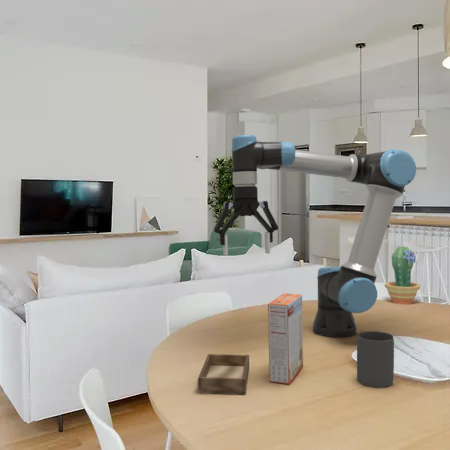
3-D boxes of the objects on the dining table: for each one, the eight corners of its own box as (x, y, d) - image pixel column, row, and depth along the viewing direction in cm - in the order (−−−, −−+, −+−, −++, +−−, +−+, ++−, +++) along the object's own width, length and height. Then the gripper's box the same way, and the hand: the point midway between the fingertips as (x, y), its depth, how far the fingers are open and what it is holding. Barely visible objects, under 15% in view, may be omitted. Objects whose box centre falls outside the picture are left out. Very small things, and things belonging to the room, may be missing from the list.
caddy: (249, 368, 139) (249, 354, 139) (245, 394, 121) (245, 379, 120) (208, 367, 140) (208, 354, 140) (198, 393, 122) (198, 378, 122)
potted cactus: (387, 305, 217) (387, 248, 215) (381, 298, 232) (382, 244, 230) (424, 306, 214) (425, 248, 213) (416, 298, 229) (417, 244, 228)
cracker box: (283, 365, 141) (282, 292, 140) (303, 367, 139) (303, 294, 138) (267, 382, 129) (266, 302, 127) (289, 385, 126) (289, 304, 125)
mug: (395, 389, 123) (396, 341, 122) (357, 386, 125) (357, 339, 124) (389, 370, 136) (390, 327, 136) (355, 368, 138) (355, 325, 138)
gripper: (279, 185, 160) (280, 250, 161) (203, 187, 154) (205, 255, 155) (287, 184, 152) (289, 253, 154) (208, 186, 146) (210, 258, 148)
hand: (246, 254), depth 154 cm, fingers open, 13 cm apart
